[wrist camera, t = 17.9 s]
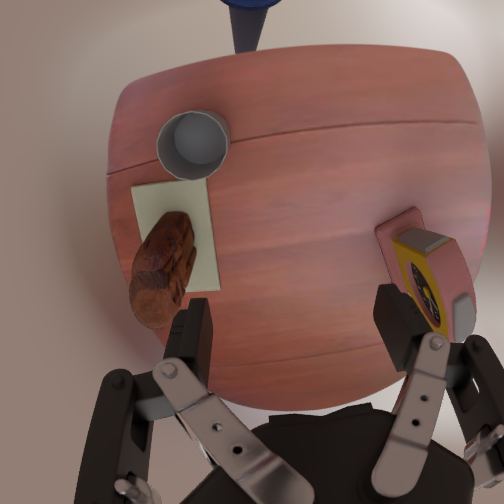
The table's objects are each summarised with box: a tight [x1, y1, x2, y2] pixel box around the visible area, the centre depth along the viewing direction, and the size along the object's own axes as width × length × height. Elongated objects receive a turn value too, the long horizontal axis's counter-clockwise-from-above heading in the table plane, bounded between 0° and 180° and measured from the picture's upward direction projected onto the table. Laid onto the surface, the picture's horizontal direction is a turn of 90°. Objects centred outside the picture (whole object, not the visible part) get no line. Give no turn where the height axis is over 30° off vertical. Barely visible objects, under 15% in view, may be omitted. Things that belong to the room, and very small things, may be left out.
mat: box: [131, 178, 221, 292], centre depth 49 cm, size 20×12×1 cm, turn 4°
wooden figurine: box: [129, 211, 197, 330], centre depth 40 cm, size 12×6×18 cm, turn 1°
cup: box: [157, 109, 230, 181], centre depth 37 cm, size 8×8×10 cm
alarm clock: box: [375, 207, 477, 343], centre depth 42 cm, size 22×9×22 cm, turn 30°
